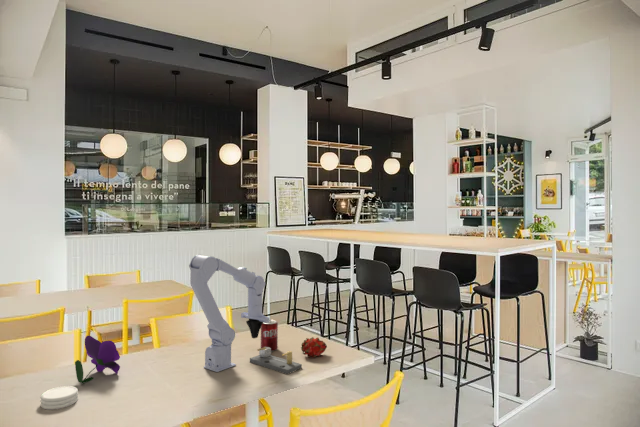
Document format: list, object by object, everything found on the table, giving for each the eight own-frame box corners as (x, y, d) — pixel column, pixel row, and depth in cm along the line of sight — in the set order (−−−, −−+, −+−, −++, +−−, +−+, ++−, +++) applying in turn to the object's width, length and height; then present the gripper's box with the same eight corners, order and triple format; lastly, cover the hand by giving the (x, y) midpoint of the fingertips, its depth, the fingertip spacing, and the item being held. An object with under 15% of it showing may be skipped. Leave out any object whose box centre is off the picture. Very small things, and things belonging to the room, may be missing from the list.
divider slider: (260, 359, 172) (260, 350, 172) (255, 357, 174) (255, 348, 174) (270, 355, 177) (271, 346, 177) (265, 353, 179) (265, 345, 179)
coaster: (84, 396, 141) (84, 385, 141) (67, 410, 131) (67, 398, 131) (52, 396, 141) (52, 385, 141) (33, 410, 131) (33, 398, 131)
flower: (105, 399, 150) (129, 369, 162) (90, 368, 144) (116, 338, 155) (71, 394, 154) (97, 364, 166) (54, 363, 147) (82, 334, 159)
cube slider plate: (287, 374, 162) (287, 357, 162) (249, 362, 174) (249, 346, 174) (301, 368, 168) (301, 352, 168) (264, 356, 180) (264, 342, 180)
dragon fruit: (298, 361, 180) (324, 361, 185) (306, 354, 174) (333, 354, 179) (295, 341, 185) (321, 342, 190) (304, 333, 179) (330, 334, 184)
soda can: (258, 348, 191) (258, 320, 191) (274, 346, 194) (274, 319, 194) (263, 353, 185) (263, 324, 185) (279, 351, 188) (280, 323, 188)
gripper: (274, 305, 179) (274, 338, 179) (249, 300, 187) (249, 332, 188) (262, 308, 173) (262, 342, 173) (237, 303, 182) (237, 336, 182)
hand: (254, 337), depth 180 cm, fingers closed
